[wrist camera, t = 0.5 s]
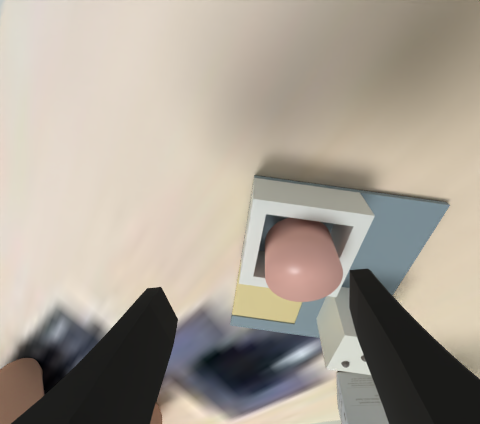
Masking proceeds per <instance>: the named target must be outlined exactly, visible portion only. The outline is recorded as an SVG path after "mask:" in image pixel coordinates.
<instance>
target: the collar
mask: <svg viewBox="0 0 480 424" xmlns="http://www.w3.org/2000/svg"><path fill="white" fill-rule="evenodd" d="M266 214H269V215H276V216H283V217H290V218H297V219H304V220H311V221H319V222H326V223H333V224H334V225H333V227H332V230H331V232H330V234H331V237H332V240H333V243H334V245H335V248H336V251H337V254H338V257H339V260H340V262H341V265H342V269H343V278H342V281H341V283H340V285H339V286H338V287H337V289H336V290H335V291H333V292H332V293H331V294H329V295H328V296H331V297H337V295H338V293H339V291H340V289H341V287H342V284H343V282H344V280H345V278H346V276H347V274H348V272H349V270H350V267H351V265H352V263H353V261H354V259H355V257H356V255H357V253H358V251H359V248H360V246H361V244H362V242H363V240H364V238H365V236H366V234H367V231H368V229H369V227H370V225H371V223H372V221H373V219H374V217H375V215H374V214H373V212H372V211H371V209H370V208H369V206H368V204H367V203H366V201H365V200H364V198H363V197H362V195H361V194H360V193H359V192H352V191H345V190H338V189H330V188H323V187H316V186H309V185H302V184H295V183H288V182H281V181H274V180H266V179H259V178H254V183H253V190H252V196H251V202H250V208H249V214H248V220H247V226H246V232H245V239H244V245H243V251H242V257H241V267H240V277H239V284H244V285H252V286H259V287H266V288H269V287H268V285H267V283H266V280H265V251H259V246H260V241H261V236H262V231H263V227H264V222H265V217H266Z"/></svg>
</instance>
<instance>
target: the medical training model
mask: <svg viewBox="0 0 480 424" xmlns="http://www.w3.org/2000/svg"><path fill="white" fill-rule="evenodd" d="M44 395H45V394H44V386H43V370H42V368H41V367H40V365H39V363H38V362H37V361H36V360H35V359H33V358H21V359H19V360H16V361H14V362H12V363H9V364H7V365H6V366H4V367H3V368H2V369H1V370H0V424H11V423H12V422H13V421H15V420H16V419H17V418H18V417H19V416H20V415H22V414H23V413H24V412H25V411H26V410H28V409H29V408H30V407H31V406H32V405H34V404H35V403H36V402H37V401H38V400H39V399H41V398H42V397H43V396H44ZM150 424H162V414H161V412H160V409H159V406H158V404H157V403H156V404H155V407H154V411H153V414H152V418H151V422H150Z"/></svg>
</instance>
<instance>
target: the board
mask: <svg viewBox="0 0 480 424" xmlns="http://www.w3.org/2000/svg"><path fill="white" fill-rule="evenodd" d="M254 178H259V179H266V180H274V181H281V182H288V183H295V184H302V185H309V186H316V187H323V188H330V189H338V190H345V191H352V192H359V193H360V194H361V195H362V197H363V198H364V200H365V201H366V203H367V204H368V206H369V208H370V209H371V211H372V212H373V214H374V215H375V217H374V219H373V221H372V223H371V225H370V227H369V229H368V231H367V234H366V236H365V238H364V240H363V242H362V244H361V246H360V248H359V251H358V253H357V255H356V257H355V259H354V261H353V263H352V265H351V267H350V270H357V269H369V270H371V271H372V272H373V274H374V275H375V276H376V277H377V279H378V280H379V281H380V282H381V283H382V285H383V286H384V287H385V288H386V289H387V290H388V291H389V293H390V294H391V295H393V294H394V292H395V291H396V289H397V288H398V286H399V284H400V283H401V281H402V280H403V278H404V277H405V275H406V273H407V272H408V270H409V269H410V267H411V266H412V264H413V262H414V261H415V259H416V258H417V256H418V255H419V253H420V252H421V250H422V248H423V247H424V245H425V244H426V242H427V241H428V239H429V237H430V236H431V234H432V233H433V231H434V230H435V228H436V226H437V225H438V223H439V222H440V220H441V219H442V217H443V216H444V214H445V212H446V211H447V209H448V208H449V206H450V205H449V204H448V203H447V202H441V201H434V200H427V199H420V198H413V197H406V196H399V195H391V194H384V193H377V192H370V191H363V190H356V189H349V188H342V187H335V186H327V185H320V184H313V183H306V182H299V181H292V180H285V179H278V178H271V177H263V176H256V175H255V176H254ZM253 183H254V182H253ZM252 190H253V188H252ZM251 196H252V194H251ZM250 202H251V200H250ZM249 208H250V206H249ZM248 214H249V213H248ZM286 218H290V217H283V216H276V215H269V214H266V217H265V222H264V227H263V231H262V236H261V241H260V246H259V251H265V238H266V235H267V233H268V231H269V230H270V229H271V228H272V227H273V226H274V225H275V224H276V223H278V222H279V221H281V220H283V219H286ZM247 220H248V219H247ZM321 223H323V224H324V225H325V226H326V227H327V228H328V230H329V232H331V230H332V227H333V225H334V224H333V223H326V222H321ZM246 226H247V225H246ZM245 232H246V231H245ZM244 239H245V237H244ZM243 245H244V243H243ZM242 251H243V249H242ZM241 257H242V256H241ZM240 267H241V262H240ZM350 270H349V272H348V274H347V276H346V278H345V280H344V282H343V284H342V287H345V288H350ZM239 277H240V268H239V274H238V280H237V286H236V292H235V299H234V305H233V311H232V317H231V324H230V325H231V326H238V327H246V328H253V329H260V330H267V331H274V332H282V333H289V334H296V335H303V336H310V337H318V338H320V335H319V330H318V325H317V320H316V318H317V316H318V314H319V312H320V309H321V307H322V305H323V303H324V300H325V298H326V297H324V298H321V299H319V300H315V301H310V302H294V301H289V300H286V299H283V298H281V297H279V296H277V295H276V294H274V293H273V292H272V291H271V290H270V289H269V288H266V287H259V286H252V285H244V284H239Z"/></svg>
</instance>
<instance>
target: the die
mask: <svg viewBox="0 0 480 424" xmlns="http://www.w3.org/2000/svg"><path fill="white" fill-rule="evenodd" d="M349 289H350V288H345V287H341V289H340V291H339V293H338V295H337V297H331V296H326V298H325V300H324V303H323V305H322V307H321V309H320V312H319V314H318V316H317V318H316V320H317V325H318V330H319V335H320V341H321V346H322V351H323V356H324V361H325V367H326V369H330V370H337V371H344V372H352V373H359V374H366V375H371V373H370V370H369V368H368V365H367V363H366V360H365V357H364V355H363V352H362V349H361V347H360V344H359V341H358V338H357V335H356V332H355V328H354V324H353V320H352V316H351V312H350V309H349Z"/></svg>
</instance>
